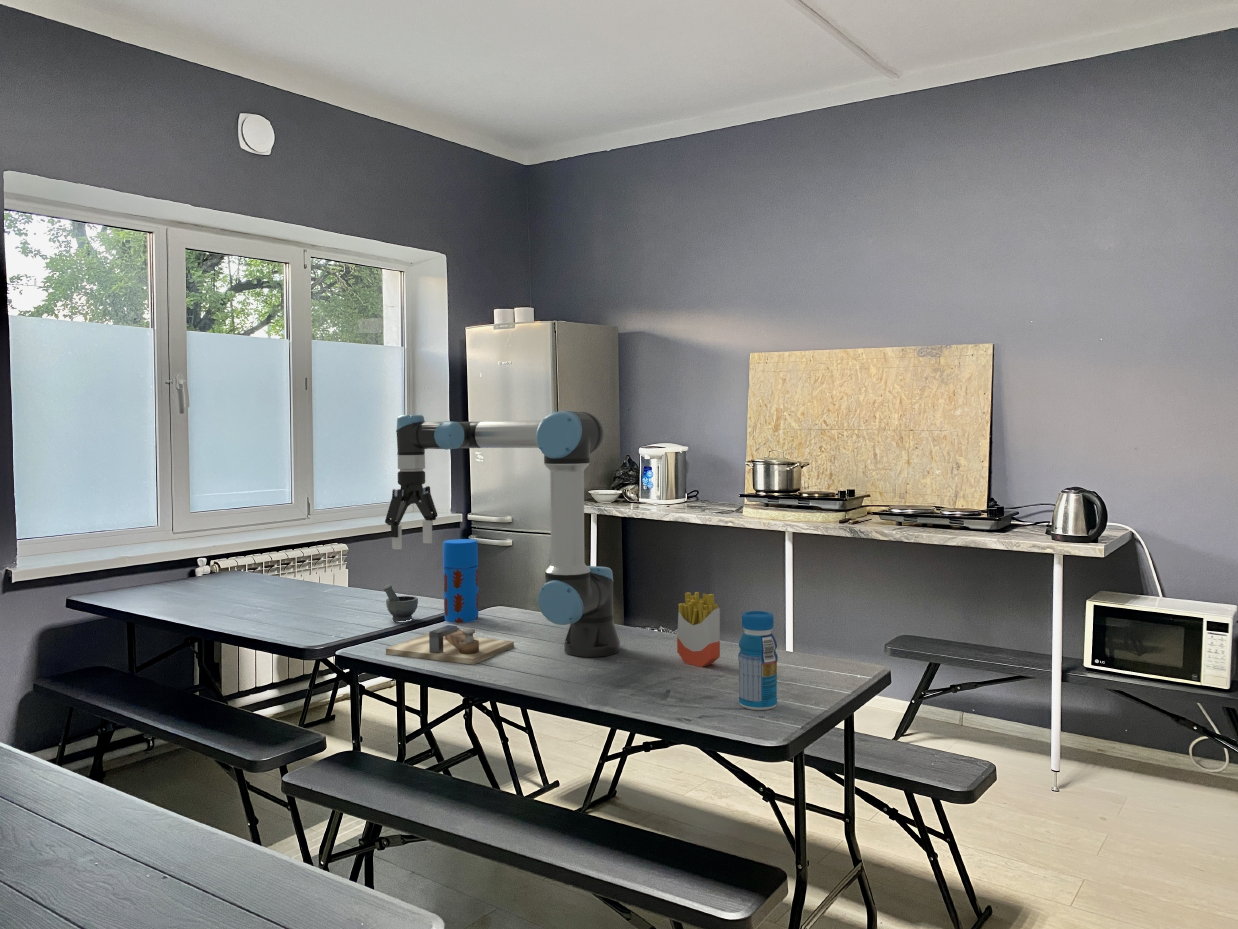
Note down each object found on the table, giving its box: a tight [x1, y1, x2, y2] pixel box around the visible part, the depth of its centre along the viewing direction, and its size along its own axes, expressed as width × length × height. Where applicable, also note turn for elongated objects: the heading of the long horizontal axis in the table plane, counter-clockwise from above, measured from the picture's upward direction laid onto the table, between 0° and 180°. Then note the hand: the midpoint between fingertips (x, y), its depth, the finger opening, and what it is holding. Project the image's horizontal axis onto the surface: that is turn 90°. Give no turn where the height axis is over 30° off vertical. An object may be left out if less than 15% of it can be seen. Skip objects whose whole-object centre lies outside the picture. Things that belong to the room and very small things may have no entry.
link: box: [445, 627, 479, 654], centre depth 240 cm, size 22×5×6 cm, turn 26°
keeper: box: [429, 624, 458, 653], centre depth 236 cm, size 3×9×6 cm, turn 156°
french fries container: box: [676, 591, 721, 668], centre depth 224 cm, size 5×11×18 cm, turn 43°
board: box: [385, 633, 515, 665], centre depth 240 cm, size 28×20×2 cm
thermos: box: [442, 538, 480, 624], centre depth 280 cm, size 11×11×25 cm
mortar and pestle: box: [382, 584, 419, 622], centre depth 279 cm, size 11×9×12 cm
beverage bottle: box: [737, 610, 779, 711], centre depth 190 cm, size 8×8×20 cm
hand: (412, 546), depth 246 cm, fingers open, 13 cm apart
